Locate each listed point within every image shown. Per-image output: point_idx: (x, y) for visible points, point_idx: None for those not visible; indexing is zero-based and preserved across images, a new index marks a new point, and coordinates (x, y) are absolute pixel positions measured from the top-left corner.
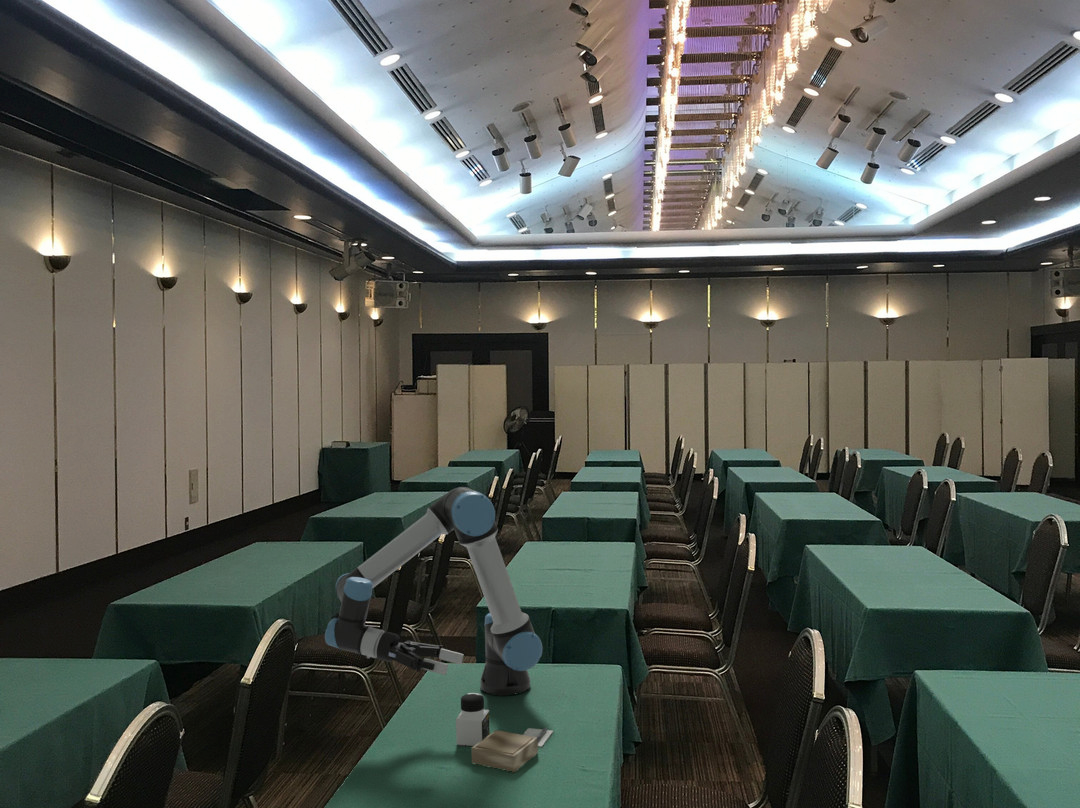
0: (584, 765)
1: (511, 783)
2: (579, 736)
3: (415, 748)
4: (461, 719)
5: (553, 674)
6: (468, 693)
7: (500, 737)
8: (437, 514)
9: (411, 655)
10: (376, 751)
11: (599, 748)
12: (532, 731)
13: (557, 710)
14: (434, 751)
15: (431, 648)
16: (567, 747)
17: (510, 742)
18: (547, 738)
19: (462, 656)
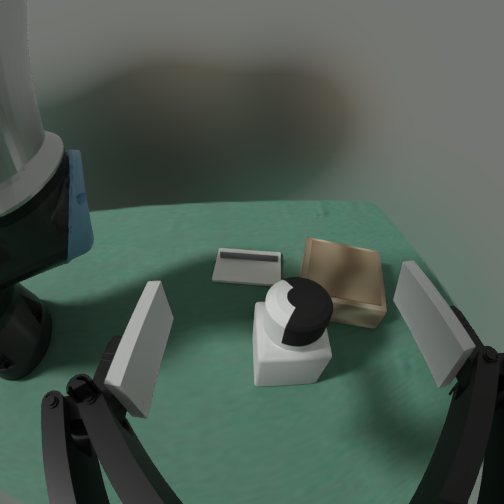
0: (315, 214)
1: (396, 267)
2: (230, 223)
3: (355, 457)
4: (329, 344)
5: None
6: (284, 312)
7: (331, 279)
8: None
9: (484, 442)
10: None
11: (264, 206)
12: (226, 271)
13: (129, 255)
14: (356, 413)
15: (130, 449)
16: (270, 230)
17: (343, 262)
18: (250, 250)
19: (162, 288)
